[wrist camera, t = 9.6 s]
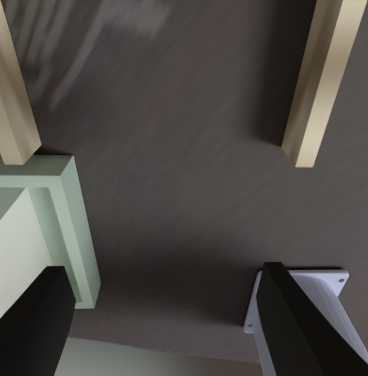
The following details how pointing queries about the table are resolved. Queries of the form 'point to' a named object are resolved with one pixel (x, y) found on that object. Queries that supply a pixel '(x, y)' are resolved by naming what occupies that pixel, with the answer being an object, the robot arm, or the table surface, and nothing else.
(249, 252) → the table surface
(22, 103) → the frame
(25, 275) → the tall grey box
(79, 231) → the tray
